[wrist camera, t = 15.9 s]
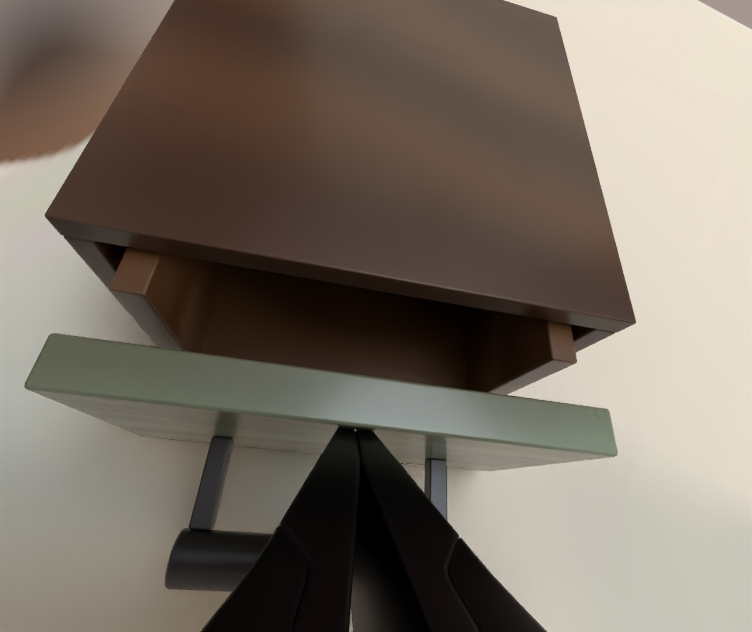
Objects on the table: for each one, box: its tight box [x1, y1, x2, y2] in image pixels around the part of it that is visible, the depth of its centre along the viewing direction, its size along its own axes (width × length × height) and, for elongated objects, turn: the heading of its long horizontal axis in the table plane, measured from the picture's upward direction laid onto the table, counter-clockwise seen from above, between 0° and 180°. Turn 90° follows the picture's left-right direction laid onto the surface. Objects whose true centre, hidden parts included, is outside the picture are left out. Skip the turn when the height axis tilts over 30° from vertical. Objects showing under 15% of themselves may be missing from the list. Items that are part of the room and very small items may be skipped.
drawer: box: [25, 247, 618, 592], centre depth 13 cm, size 18×13×7 cm
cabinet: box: [45, 0, 636, 353], centre depth 16 cm, size 15×14×8 cm
